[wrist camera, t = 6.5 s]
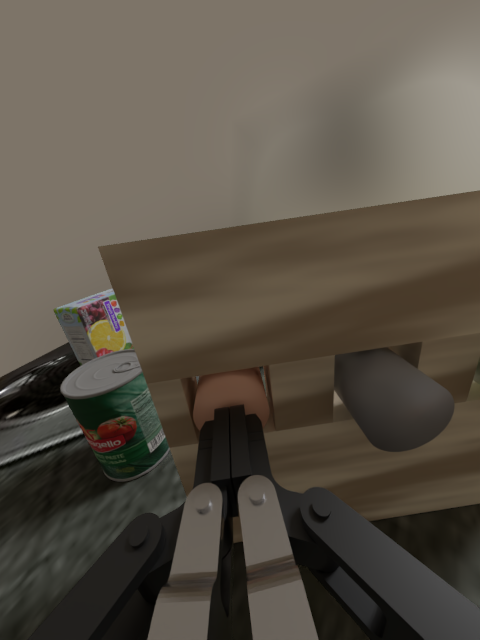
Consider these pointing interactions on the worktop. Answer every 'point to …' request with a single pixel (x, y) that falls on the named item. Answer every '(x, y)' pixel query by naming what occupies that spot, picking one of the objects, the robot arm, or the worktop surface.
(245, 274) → the button panel
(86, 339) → the snack box
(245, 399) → the terracotta button
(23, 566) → the worktop surface
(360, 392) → the grey button
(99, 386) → the canned tomato
